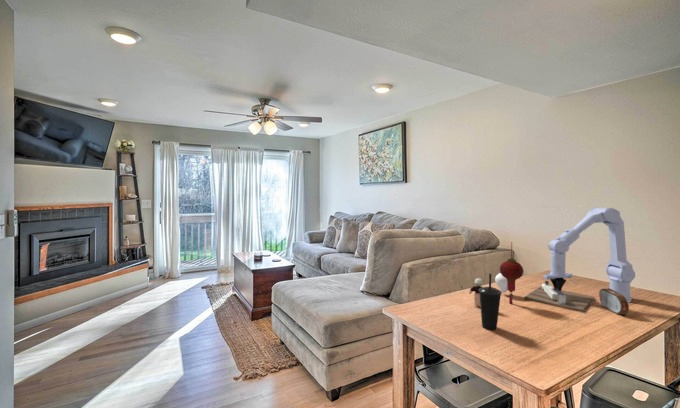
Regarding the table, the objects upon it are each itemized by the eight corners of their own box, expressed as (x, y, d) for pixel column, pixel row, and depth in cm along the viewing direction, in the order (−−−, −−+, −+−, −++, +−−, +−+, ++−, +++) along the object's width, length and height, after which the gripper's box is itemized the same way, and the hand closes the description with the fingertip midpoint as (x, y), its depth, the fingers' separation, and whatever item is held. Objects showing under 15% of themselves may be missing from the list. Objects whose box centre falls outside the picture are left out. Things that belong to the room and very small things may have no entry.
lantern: (514, 300, 145) (516, 235, 144) (527, 307, 135) (529, 238, 134) (494, 300, 144) (495, 235, 144) (506, 307, 135) (507, 238, 134)
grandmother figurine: (487, 306, 136) (487, 277, 136) (488, 309, 133) (488, 280, 132) (468, 304, 139) (468, 276, 138) (469, 307, 135) (469, 278, 135)
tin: (629, 317, 124) (630, 296, 124) (620, 317, 125) (620, 296, 124) (605, 304, 139) (605, 286, 138) (597, 304, 139) (597, 285, 139)
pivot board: (540, 288, 163) (540, 277, 163) (594, 298, 147) (594, 286, 147) (524, 299, 146) (524, 287, 146) (582, 312, 130) (583, 298, 129)
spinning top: (496, 291, 158) (496, 267, 157) (513, 294, 153) (514, 269, 153) (493, 295, 152) (494, 270, 151) (511, 298, 147) (511, 273, 147)
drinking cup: (500, 333, 109) (501, 277, 109) (476, 328, 113) (477, 274, 113) (502, 326, 116) (502, 272, 115) (479, 321, 120) (480, 270, 119)
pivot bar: (540, 288, 159) (541, 283, 159) (550, 289, 157) (550, 284, 157) (551, 299, 142) (551, 293, 142) (561, 300, 141) (561, 294, 140)
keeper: (551, 296, 146) (551, 288, 146) (557, 297, 145) (557, 288, 145) (559, 304, 136) (559, 294, 136) (565, 304, 136) (565, 295, 136)
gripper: (562, 262, 154) (562, 289, 154) (538, 264, 151) (537, 292, 151) (576, 265, 147) (576, 294, 147) (550, 267, 144) (550, 296, 144)
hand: (557, 293), depth 149 cm, fingers closed
